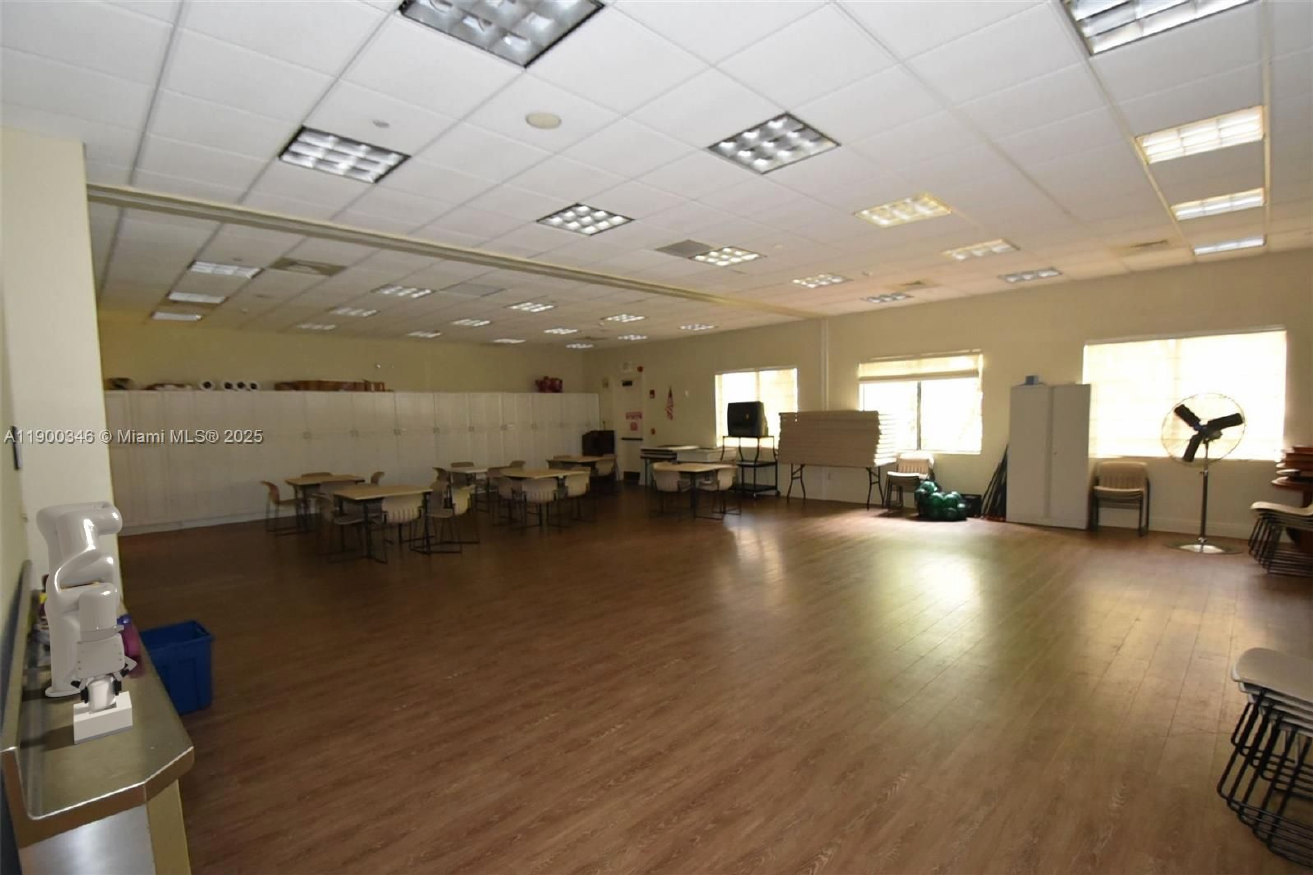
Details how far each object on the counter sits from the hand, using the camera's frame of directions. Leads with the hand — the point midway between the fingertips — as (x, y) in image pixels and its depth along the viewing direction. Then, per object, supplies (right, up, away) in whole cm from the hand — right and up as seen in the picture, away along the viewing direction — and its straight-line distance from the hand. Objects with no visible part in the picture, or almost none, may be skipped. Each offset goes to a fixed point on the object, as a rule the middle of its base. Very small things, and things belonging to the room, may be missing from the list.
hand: (101, 697), depth 166 cm
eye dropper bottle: (0, -3, +1) cm, 3 cm away
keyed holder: (0, -9, +1) cm, 9 cm away
